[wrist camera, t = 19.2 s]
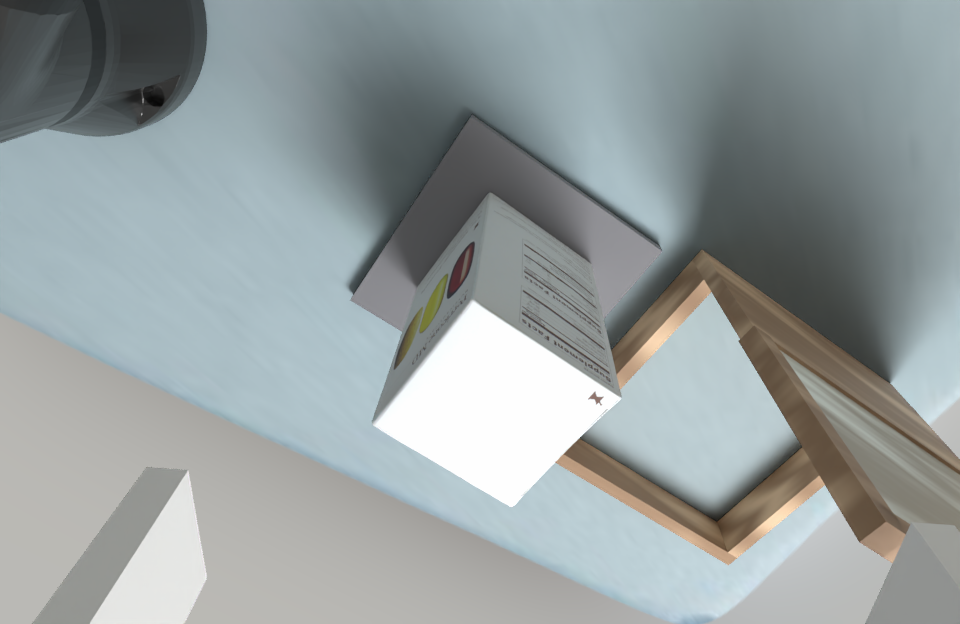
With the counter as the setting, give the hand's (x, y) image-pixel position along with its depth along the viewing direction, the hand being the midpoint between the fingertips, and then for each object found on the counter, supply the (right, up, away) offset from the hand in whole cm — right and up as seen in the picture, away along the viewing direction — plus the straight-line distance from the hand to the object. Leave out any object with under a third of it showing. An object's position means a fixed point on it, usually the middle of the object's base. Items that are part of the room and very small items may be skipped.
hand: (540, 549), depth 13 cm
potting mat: (0, +7, +37) cm, 38 cm away
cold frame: (+17, -3, +41) cm, 44 cm away
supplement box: (0, +7, +36) cm, 37 cm away
